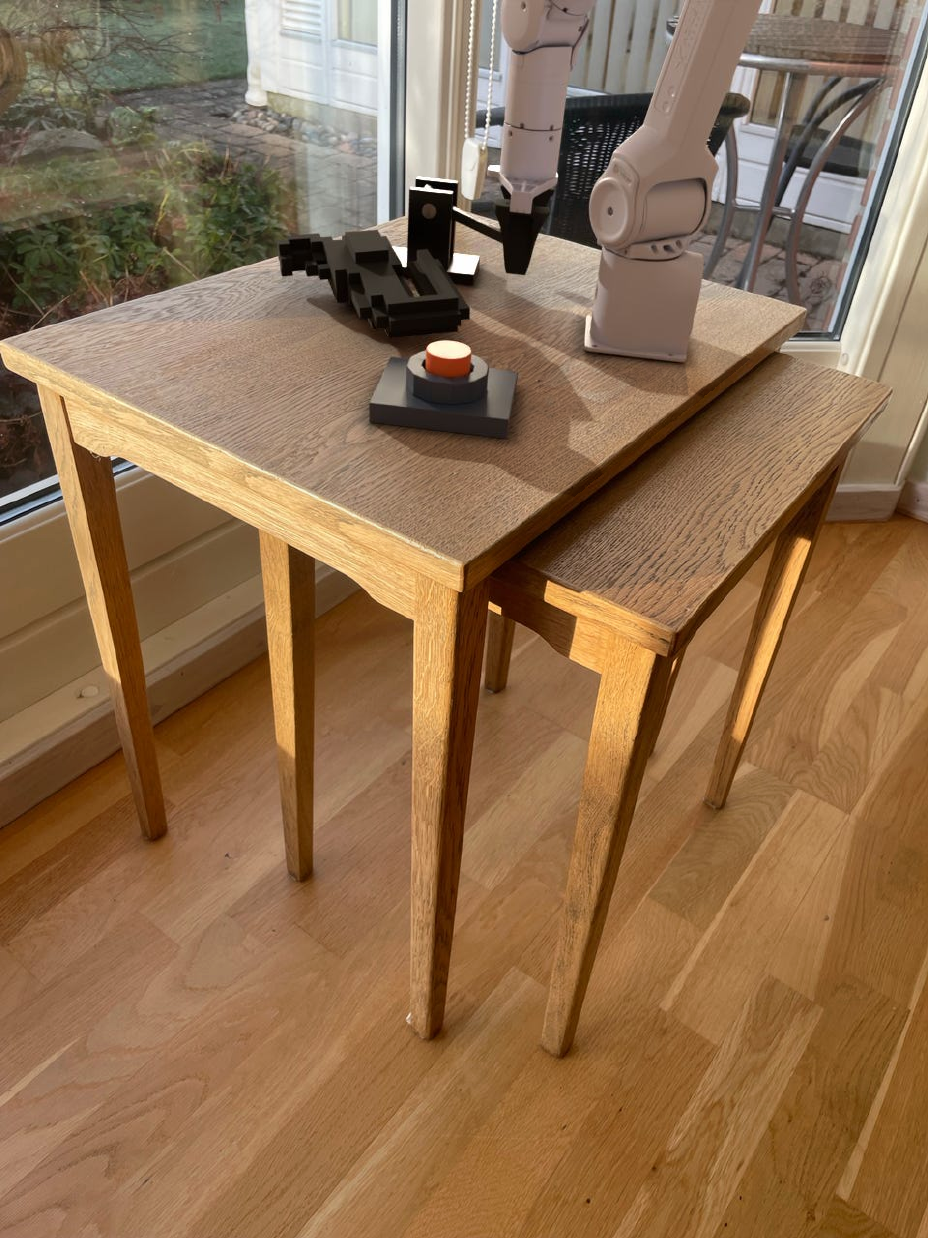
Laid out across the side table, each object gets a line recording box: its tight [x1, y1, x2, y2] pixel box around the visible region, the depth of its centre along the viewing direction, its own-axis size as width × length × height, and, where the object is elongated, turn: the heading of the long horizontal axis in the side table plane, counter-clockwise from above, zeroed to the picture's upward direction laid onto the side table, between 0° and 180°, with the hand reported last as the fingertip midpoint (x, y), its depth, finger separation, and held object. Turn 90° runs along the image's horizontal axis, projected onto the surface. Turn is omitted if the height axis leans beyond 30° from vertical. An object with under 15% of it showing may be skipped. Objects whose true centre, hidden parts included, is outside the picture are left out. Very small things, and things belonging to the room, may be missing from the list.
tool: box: [276, 229, 471, 339], centre depth 94 cm, size 5×20×15 cm
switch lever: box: [424, 184, 503, 245], centre depth 102 cm, size 12×5×2 cm, turn 83°
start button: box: [425, 340, 473, 378], centre depth 79 cm, size 4×4×2 cm
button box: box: [368, 350, 519, 440], centre depth 80 cm, size 11×9×4 cm
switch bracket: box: [392, 176, 481, 287], centre depth 103 cm, size 10×6×9 cm, turn 83°
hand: (517, 263), depth 104 cm, fingers closed on switch lever, 5 cm apart
